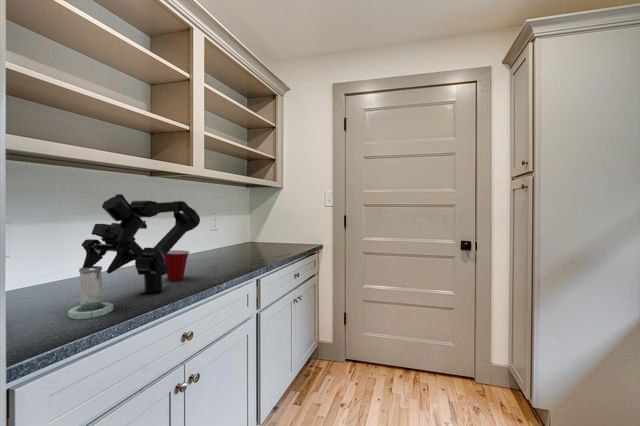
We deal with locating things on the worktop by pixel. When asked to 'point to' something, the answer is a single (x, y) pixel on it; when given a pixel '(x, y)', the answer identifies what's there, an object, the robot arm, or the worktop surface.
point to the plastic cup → (176, 264)
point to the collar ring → (90, 312)
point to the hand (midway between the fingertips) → (95, 271)
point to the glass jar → (91, 288)
